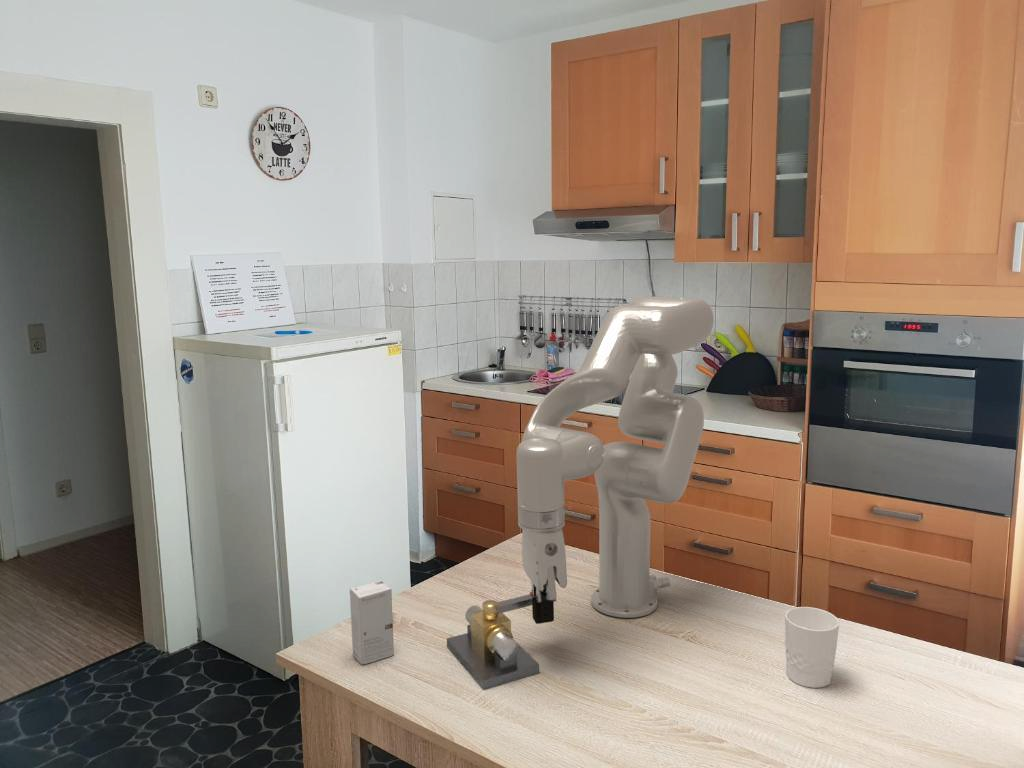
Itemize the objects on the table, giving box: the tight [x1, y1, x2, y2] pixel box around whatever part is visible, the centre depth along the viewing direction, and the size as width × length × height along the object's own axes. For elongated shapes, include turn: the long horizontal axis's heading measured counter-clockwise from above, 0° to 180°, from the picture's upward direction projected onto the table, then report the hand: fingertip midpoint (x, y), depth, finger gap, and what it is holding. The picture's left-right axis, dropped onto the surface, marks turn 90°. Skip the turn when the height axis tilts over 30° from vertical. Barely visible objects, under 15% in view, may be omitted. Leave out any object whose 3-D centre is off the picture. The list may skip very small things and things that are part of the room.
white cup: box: [784, 606, 840, 689], centre depth 124 cm, size 8×8×10 cm
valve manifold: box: [446, 605, 540, 691], centre depth 131 cm, size 10×15×8 cm, turn 27°
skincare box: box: [349, 580, 395, 666], centre depth 132 cm, size 6×4×12 cm
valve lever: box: [481, 591, 558, 619], centre depth 132 cm, size 13×3×2 cm, turn 117°
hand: (543, 620), depth 130 cm, fingers closed
